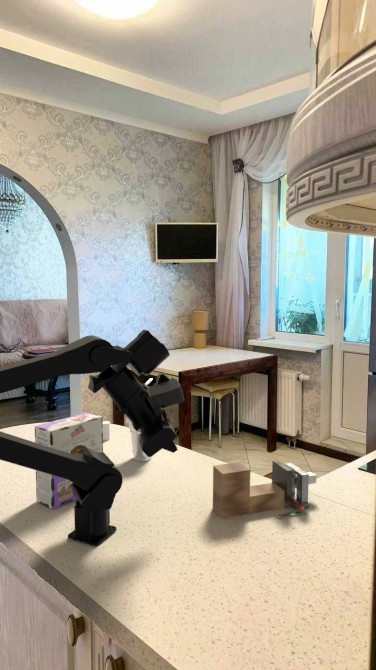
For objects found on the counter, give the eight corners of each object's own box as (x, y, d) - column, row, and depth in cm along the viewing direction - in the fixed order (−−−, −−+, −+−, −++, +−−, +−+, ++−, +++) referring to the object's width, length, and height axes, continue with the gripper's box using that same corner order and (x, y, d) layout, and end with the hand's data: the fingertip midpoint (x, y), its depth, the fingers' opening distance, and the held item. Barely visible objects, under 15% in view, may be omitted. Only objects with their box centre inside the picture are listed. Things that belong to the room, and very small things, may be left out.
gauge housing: (278, 518, 98) (279, 485, 97) (253, 497, 107) (254, 466, 106) (315, 512, 101) (316, 479, 100) (288, 491, 110) (289, 461, 109)
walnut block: (221, 518, 98) (222, 473, 97) (212, 508, 102) (213, 465, 101) (284, 507, 103) (285, 464, 102) (273, 498, 107) (274, 457, 106)
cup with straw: (119, 457, 130) (118, 381, 128) (147, 449, 136) (147, 377, 134) (139, 466, 124) (139, 387, 122) (167, 458, 130) (167, 382, 128)
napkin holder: (57, 441, 144) (57, 422, 143) (85, 431, 154) (84, 413, 153) (97, 451, 136) (97, 430, 136) (123, 440, 146) (123, 420, 145)
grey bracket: (296, 510, 98) (297, 477, 98) (271, 491, 107) (272, 460, 107) (331, 504, 101) (333, 471, 101) (305, 485, 110) (306, 456, 109)
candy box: (87, 481, 115) (86, 411, 113) (104, 488, 111) (103, 415, 109) (35, 501, 104) (33, 424, 103) (52, 510, 101) (50, 430, 99)
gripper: (174, 384, 83) (223, 448, 88) (153, 350, 100) (196, 406, 106) (119, 425, 83) (172, 486, 88) (109, 384, 100) (154, 438, 106)
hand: (175, 450), depth 97 cm, fingers closed
